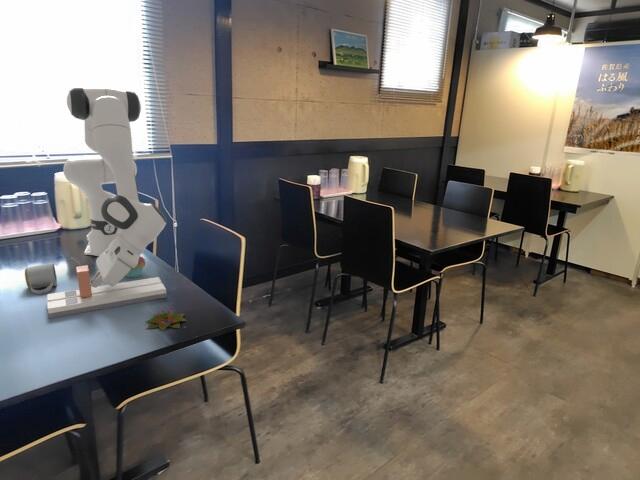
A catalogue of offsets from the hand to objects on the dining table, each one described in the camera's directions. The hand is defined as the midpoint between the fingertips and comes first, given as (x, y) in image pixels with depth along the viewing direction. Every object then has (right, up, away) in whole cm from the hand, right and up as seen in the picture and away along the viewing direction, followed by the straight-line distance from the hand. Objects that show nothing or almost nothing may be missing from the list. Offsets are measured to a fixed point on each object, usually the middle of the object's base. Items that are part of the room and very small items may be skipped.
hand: (92, 285), depth 130 cm
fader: (-2, -4, 0) cm, 5 cm away
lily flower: (+25, -10, -8) cm, 28 cm away
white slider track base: (+3, -5, +4) cm, 7 cm away
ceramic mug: (-22, -2, +11) cm, 24 cm away
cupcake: (+2, +1, +24) cm, 24 cm away
